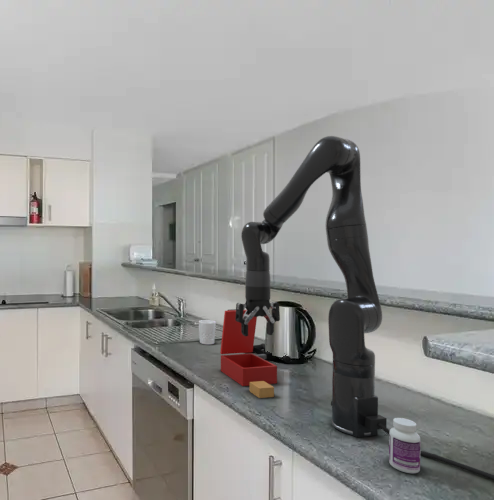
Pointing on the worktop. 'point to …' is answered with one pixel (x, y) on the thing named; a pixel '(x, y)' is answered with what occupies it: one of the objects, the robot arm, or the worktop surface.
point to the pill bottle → (404, 446)
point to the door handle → (267, 353)
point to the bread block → (261, 389)
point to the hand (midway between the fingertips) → (257, 335)
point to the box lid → (236, 334)
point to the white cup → (207, 331)
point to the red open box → (248, 369)
